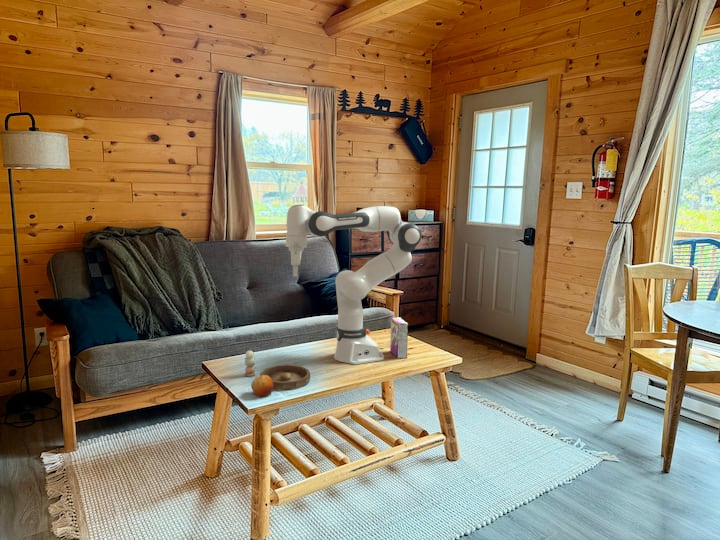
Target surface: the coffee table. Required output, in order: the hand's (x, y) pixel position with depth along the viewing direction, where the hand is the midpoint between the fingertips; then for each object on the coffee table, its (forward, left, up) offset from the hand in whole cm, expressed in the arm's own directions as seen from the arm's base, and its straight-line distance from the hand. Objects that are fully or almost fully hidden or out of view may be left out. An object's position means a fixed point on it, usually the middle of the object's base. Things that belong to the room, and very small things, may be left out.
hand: (295, 276), depth 210 cm
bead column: (+20, +10, -39) cm, 45 cm away
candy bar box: (-48, 0, -39) cm, 62 cm away
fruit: (+17, +30, -39) cm, 52 cm away
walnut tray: (+7, +19, -38) cm, 43 cm away
